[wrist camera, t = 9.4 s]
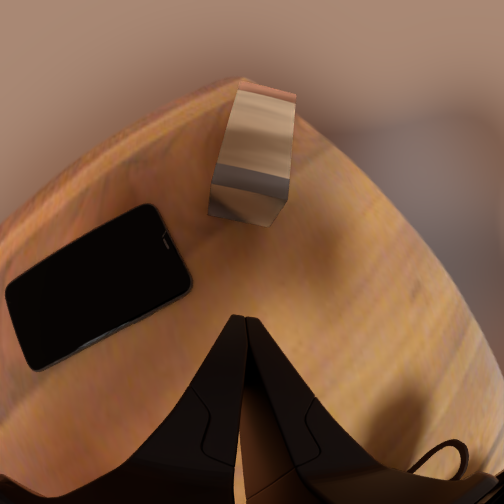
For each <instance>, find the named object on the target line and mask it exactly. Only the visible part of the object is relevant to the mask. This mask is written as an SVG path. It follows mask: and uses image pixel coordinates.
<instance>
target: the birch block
mask: <svg viewBox="0 0 504 504" xmlns="http://www.w3.org/2000/svg"><path fill="white" fill-rule="evenodd" d="M295 104H296V95H295V94H292V93H289V92H285V91H281V90H277V89H274V88H269V87H265V86H261V85H257V84H253V83H248V82H243V81H240V84H239V87H238V90H237V94H236V97H235V100H234V104H233V107H232V110H231V114H230V117H229V120H228V124H227V127H226V131H225V134H224V138H223V142H222V145H221V149H220V152H219V156H218V160H217V163H216V166H215V170H214V174H213V178H212V182H211V188H210V197H209V207H208V215H210V216H215V217H220V218H225V219H230V220H235V221H240V222H245V223H250V224H255V225H259V226H264V227H270V225H271V224H272V222H273V221H274V219H275V218H276V216H277V215H278V214H279V212H280V211H281V209H282V208H283V206H284V205H285V203H286V202H287V200H288V192H289V181H290V179H289V177H290V166H291V154H292V142H293V129H294V116H295Z"/></svg>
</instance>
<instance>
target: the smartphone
mask: <svg viewBox="0 0 504 504" xmlns="http://www.w3.org/2000/svg"><path fill="white" fill-rule="evenodd" d="M192 287H193V279H192V276H191V274H190V272H189V270H188V268H187V266H186V264H185V262H184V260H183V259H182V257H181V255H180V253H179V251H178V249H177V247H176V245H175V243H174V241H173V239H172V237H171V235H170V233H169V231H168V229H167V227H166V225H165V223H164V221H163V219H162V217H161V215H160V213H159V211H158V209H157V208H156V207H155V206H154V205H152V204H149V203H146V204H142V205H139V206H137V207H135V208H133V209H131V210H129V211H127V212H125V213H123V214H121V215H120V216H118V217H116V218H114V219H112V220H110V221H108V222H106V223H104V224H103V225H101V226H99V227H97V228H95V229H93V230H92V231H90V232H88V233H87V234H85V235H83V236H81V237H80V238H78V239H76V240H75V241H73V242H71V243H70V244H68V245H66V246H65V247H63V248H61V249H60V250H58V251H56V252H55V253H53V254H52V255H50V256H49V257H47V258H45V259H44V260H42V261H41V262H39V263H38V264H36V265H35V266H33V267H32V268H30V269H29V270H27V271H26V272H24V273H23V274H21V275H20V276H19V277H17V278H16V279H14V280H13V281H12V282H10V283H9V284H8V285H7V287H6V290H5V299H6V303H7V307H8V310H9V314H10V317H11V321H12V324H13V327H14V330H15V333H16V336H17V339H18V341H19V344H20V347H21V349H22V352H23V354H24V357H25V359H26V362H27V364H28V365H29V367H30V368H31V369H32V370H33V371H35V372H41V371H44V370H46V369H47V368H49V367H51V366H53V365H55V364H57V363H59V362H61V361H63V360H65V359H67V358H69V357H71V356H73V355H75V354H77V353H78V352H80V351H82V350H84V349H86V348H88V347H90V346H92V345H94V344H96V343H98V342H100V341H101V340H103V339H105V338H107V337H109V336H111V335H113V334H115V333H117V332H119V331H121V330H122V329H124V328H126V327H128V326H130V325H132V324H135V323H137V322H139V321H141V320H143V319H144V318H146V317H148V316H150V315H152V314H153V313H155V312H157V311H158V310H160V309H162V308H164V307H166V306H168V305H170V304H172V303H174V302H175V301H177V300H179V299H181V298H183V297H184V296H186V295H187V294H188V293H189V292H190V291H191V290H192Z"/></svg>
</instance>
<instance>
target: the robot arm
mask: <svg viewBox="0 0 504 504" xmlns="http://www.w3.org/2000/svg"><path fill="white" fill-rule="evenodd" d="M239 432H240V444H241V455H242V465H243V476H244V485H245V495H246V504H504V470H502V471H501V472H499V473H498V474H496V475H495V476H493V475H491V474H488V473H483V472H479V471H477V472H475V473H473V474H471V475H470V476H468V477H467V478H465V479H463V480H459V481H447V480H441V479H435V478H429V477H424V476H420V475H415V474H411V473H407V472H403V471H399V470H395V469H392V468H389V467H387V466H385V465H383V464H381V463H379V462H378V461H377V460H375V459H374V458H373V457H372V456H371V455H370V454H369V453H367V452H366V451H365V450H364V449H363V448H362V447H361V446H360V445H359V444H358V443H357V442H356V441H355V440H354V439H353V438H352V437H351V436H350V435H349V434H348V433H347V432H346V431H345V430H344V429H343V428H342V427H341V426H340V425H339V424H338V423H337V421H336V420H335V419H334V418H333V417H332V416H331V415H330V413H329V412H328V411H327V410H326V409H325V407H324V406H323V405H322V404H321V402H320V401H319V400H318V398H317V397H315V395H314V393H313V392H312V391H311V389H310V388H309V387H308V385H307V384H306V383H305V381H304V380H303V379H302V377H301V376H300V375H299V373H298V372H297V371H296V369H295V368H294V367H293V365H292V364H291V362H290V361H289V360H288V358H287V357H286V356H285V354H284V353H283V352H282V350H281V349H280V347H279V346H278V345H277V343H276V342H275V341H274V339H273V338H272V336H271V335H270V334H269V332H268V331H267V329H266V328H265V327H264V325H263V324H262V322H261V321H260V320H259V319H258V318H254V317H244V316H241V315H235V314H233V315H231V316H230V318H229V320H228V321H227V323H226V325H225V326H224V328H223V330H222V331H221V333H220V335H219V336H218V338H217V340H216V341H215V343H214V345H213V346H212V348H211V350H210V351H209V353H208V355H207V356H206V358H205V360H204V361H203V363H202V365H201V366H200V368H199V369H198V371H197V373H196V374H195V376H194V378H193V379H192V381H191V383H190V384H189V386H188V387H187V389H186V390H185V392H184V394H183V395H182V397H181V398H180V400H179V401H178V403H177V404H176V405H175V407H174V408H173V410H172V411H171V412H170V413H169V415H168V416H167V417H166V418H165V420H164V421H163V422H162V423H161V424H160V425H159V426H158V428H157V429H156V430H155V431H154V432H153V433H152V434H151V435H150V436H149V437H148V439H147V440H146V441H145V442H144V443H143V444H142V445H141V446H140V447H139V448H138V449H137V450H136V451H135V452H134V453H133V454H132V455H131V456H130V457H129V458H128V459H127V460H126V461H125V462H124V463H122V464H121V465H120V466H118V467H117V468H116V469H114V470H112V471H110V472H108V473H107V474H105V475H103V476H101V477H99V478H97V479H96V480H94V481H92V482H90V483H88V484H86V485H84V486H82V487H80V488H78V489H76V490H74V491H72V492H69V493H67V494H65V495H62V496H59V497H51V498H47V497H45V496H43V495H41V494H39V493H37V492H35V491H33V490H31V489H29V488H27V487H25V486H24V485H22V484H20V483H18V482H16V481H15V480H13V479H11V478H10V477H8V476H6V475H4V474H0V504H235V500H234V471H235V468H234V467H235V463H236V454H237V445H238V436H239Z"/></svg>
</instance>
